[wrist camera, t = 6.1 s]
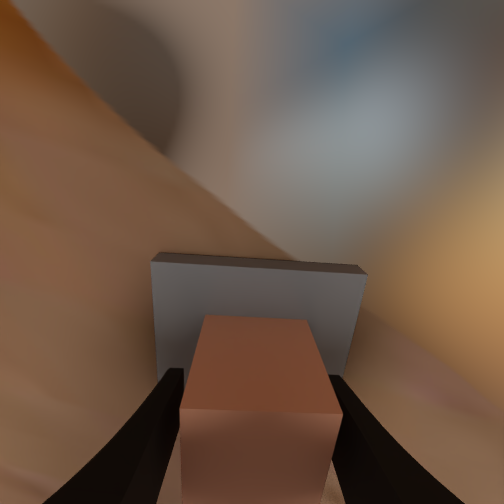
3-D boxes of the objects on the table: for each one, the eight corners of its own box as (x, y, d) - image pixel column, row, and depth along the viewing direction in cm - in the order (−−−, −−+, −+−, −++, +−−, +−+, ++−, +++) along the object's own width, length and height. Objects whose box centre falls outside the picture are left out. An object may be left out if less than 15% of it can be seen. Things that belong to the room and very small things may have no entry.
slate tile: (166, 403, 16) (160, 422, 15) (159, 252, 12) (150, 261, 11) (324, 409, 16) (330, 427, 15) (357, 265, 13) (367, 274, 12)
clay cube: (204, 392, 14) (182, 510, 9) (205, 314, 12) (179, 408, 8) (293, 395, 14) (317, 512, 9) (306, 319, 12) (343, 414, 8)
